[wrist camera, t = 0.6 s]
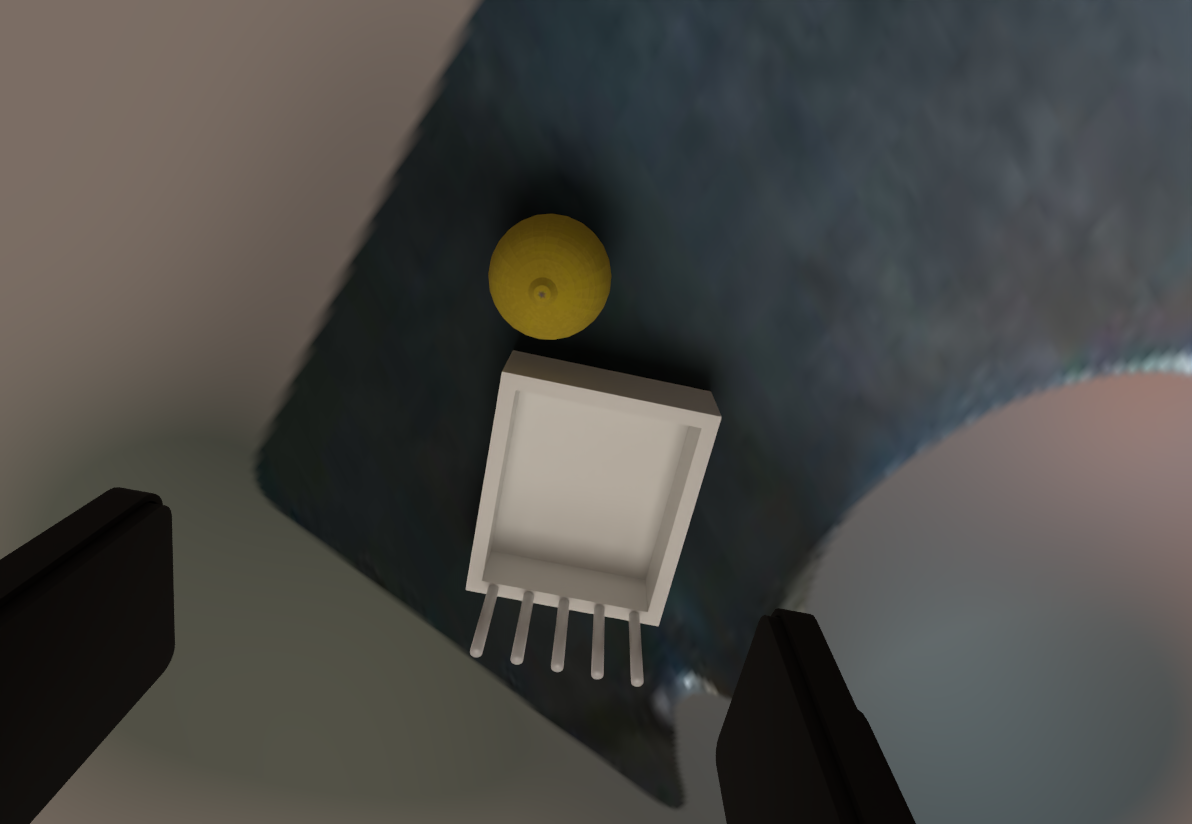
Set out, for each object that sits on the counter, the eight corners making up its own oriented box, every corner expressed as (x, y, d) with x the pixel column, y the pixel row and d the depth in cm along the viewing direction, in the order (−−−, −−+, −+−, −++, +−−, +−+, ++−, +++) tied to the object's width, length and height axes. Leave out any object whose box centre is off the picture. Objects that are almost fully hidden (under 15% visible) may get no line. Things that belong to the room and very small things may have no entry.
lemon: (481, 267, 34) (445, 299, 27) (551, 183, 33) (533, 191, 25) (563, 338, 35) (549, 386, 28) (633, 260, 34) (639, 289, 26)
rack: (512, 350, 36) (483, 408, 27) (710, 391, 36) (739, 460, 28) (478, 551, 40) (444, 652, 32) (654, 585, 41) (665, 693, 33)
